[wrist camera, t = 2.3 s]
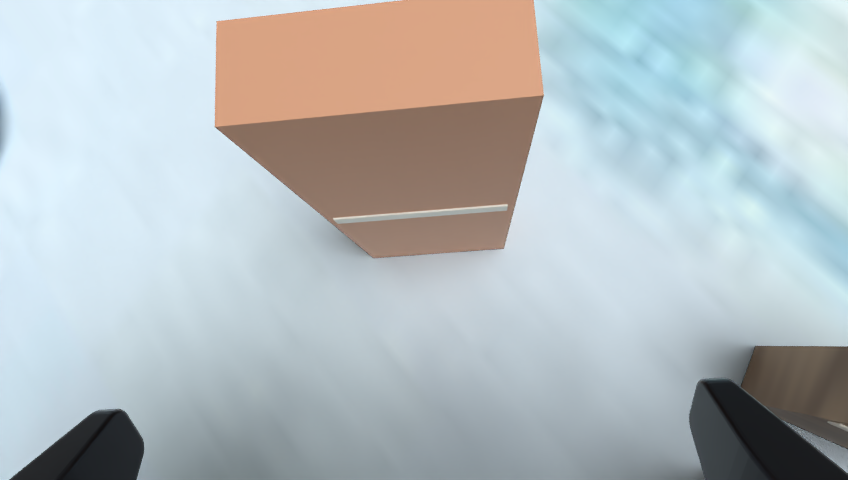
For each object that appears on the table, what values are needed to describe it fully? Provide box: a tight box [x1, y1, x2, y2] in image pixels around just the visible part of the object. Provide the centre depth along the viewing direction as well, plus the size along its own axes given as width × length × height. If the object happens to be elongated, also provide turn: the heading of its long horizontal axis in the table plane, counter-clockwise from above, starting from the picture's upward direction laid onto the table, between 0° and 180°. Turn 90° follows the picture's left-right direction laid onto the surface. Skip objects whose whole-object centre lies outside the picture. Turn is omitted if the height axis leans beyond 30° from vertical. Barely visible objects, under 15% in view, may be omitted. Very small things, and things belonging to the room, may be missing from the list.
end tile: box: [215, 0, 544, 258], centre depth 15 cm, size 2×5×13 cm, turn 93°
